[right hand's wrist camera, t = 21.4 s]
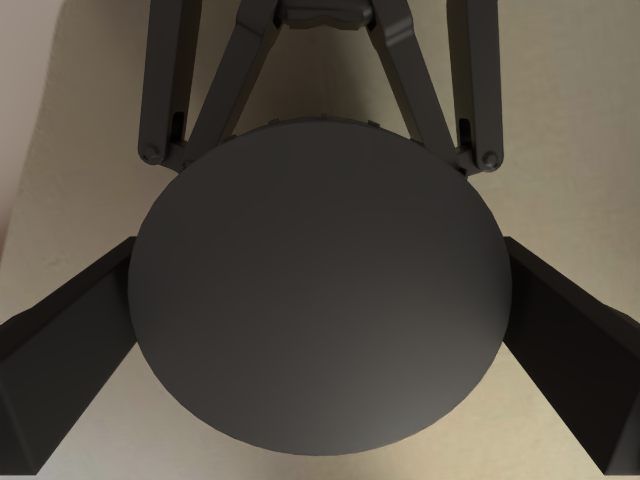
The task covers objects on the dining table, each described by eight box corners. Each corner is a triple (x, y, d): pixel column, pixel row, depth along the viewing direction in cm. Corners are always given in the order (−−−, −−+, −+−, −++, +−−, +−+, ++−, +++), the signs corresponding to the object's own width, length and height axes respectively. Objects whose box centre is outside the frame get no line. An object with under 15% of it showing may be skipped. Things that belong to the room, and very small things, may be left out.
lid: (476, 398, 14) (500, 445, 12) (195, 420, 14) (177, 468, 12) (496, 94, 10) (537, 93, 8) (111, 135, 10) (65, 143, 8)
